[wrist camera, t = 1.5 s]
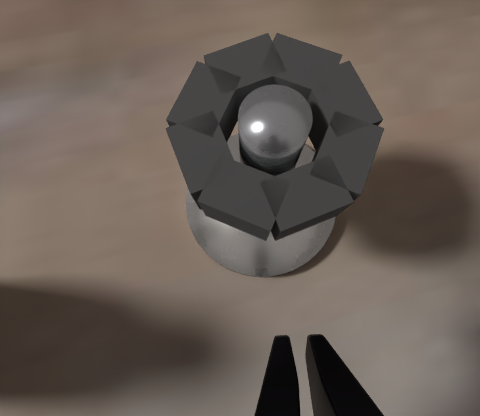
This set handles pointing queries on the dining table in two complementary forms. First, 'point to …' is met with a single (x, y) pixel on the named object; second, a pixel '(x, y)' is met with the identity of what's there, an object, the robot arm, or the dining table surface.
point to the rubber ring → (321, 135)
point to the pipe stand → (274, 163)
